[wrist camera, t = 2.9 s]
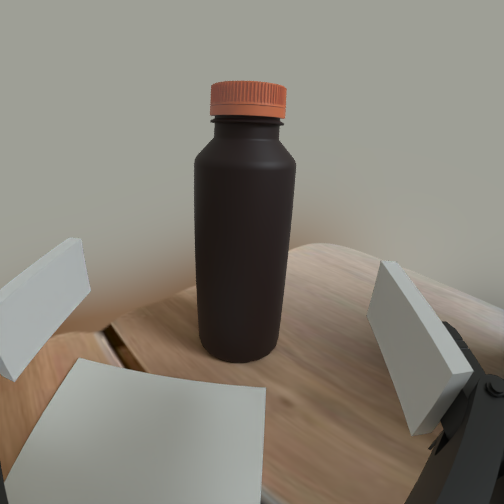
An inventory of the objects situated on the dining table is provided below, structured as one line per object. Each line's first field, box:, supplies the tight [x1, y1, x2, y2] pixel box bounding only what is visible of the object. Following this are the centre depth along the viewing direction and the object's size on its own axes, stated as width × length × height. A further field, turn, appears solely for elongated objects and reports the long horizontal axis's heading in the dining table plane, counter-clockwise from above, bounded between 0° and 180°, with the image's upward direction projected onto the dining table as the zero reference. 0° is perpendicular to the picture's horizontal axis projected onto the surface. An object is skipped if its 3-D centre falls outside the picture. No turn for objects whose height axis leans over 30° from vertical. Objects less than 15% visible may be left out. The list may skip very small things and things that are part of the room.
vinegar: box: [194, 81, 296, 362], centre depth 22 cm, size 7×7×20 cm
